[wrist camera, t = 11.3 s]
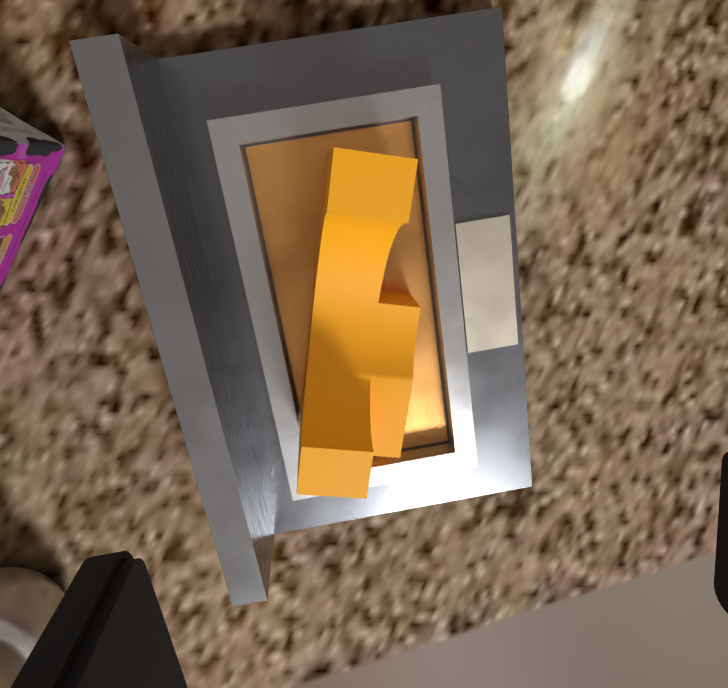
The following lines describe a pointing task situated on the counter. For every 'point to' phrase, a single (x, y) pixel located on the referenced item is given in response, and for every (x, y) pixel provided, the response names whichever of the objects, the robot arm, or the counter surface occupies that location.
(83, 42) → the grey tray with recess
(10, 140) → the candy bar box
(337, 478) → the orange notched block
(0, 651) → the plastic bottle
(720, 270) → the counter surface
